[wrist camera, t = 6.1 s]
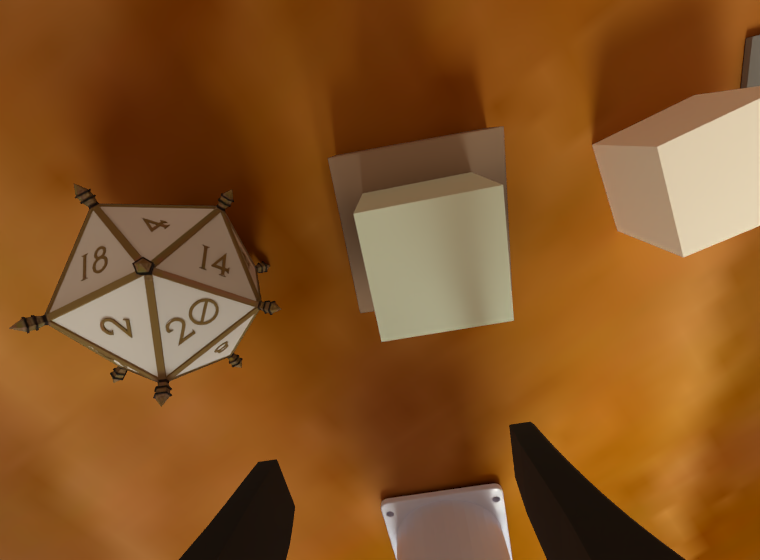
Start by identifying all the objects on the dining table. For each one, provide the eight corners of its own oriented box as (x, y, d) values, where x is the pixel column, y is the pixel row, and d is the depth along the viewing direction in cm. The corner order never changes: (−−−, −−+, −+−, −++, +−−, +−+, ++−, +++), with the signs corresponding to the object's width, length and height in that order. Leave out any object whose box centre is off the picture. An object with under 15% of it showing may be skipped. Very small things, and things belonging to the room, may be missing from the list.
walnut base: (494, 269, 20) (511, 290, 17) (364, 288, 20) (360, 313, 18) (484, 127, 17) (503, 126, 15) (337, 154, 18) (327, 158, 15)
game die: (240, 209, 22) (236, 107, 13) (294, 342, 22) (331, 335, 13) (62, 259, 19) (-112, 168, 10) (123, 417, 19) (3, 480, 9)
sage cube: (482, 274, 17) (513, 320, 13) (383, 291, 17) (381, 341, 13) (471, 172, 15) (503, 185, 11) (362, 193, 16) (353, 213, 11)
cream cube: (711, 188, 18) (810, 204, 14) (616, 230, 19) (683, 257, 14) (692, 95, 17) (797, 80, 12) (591, 144, 17) (657, 147, 13)
